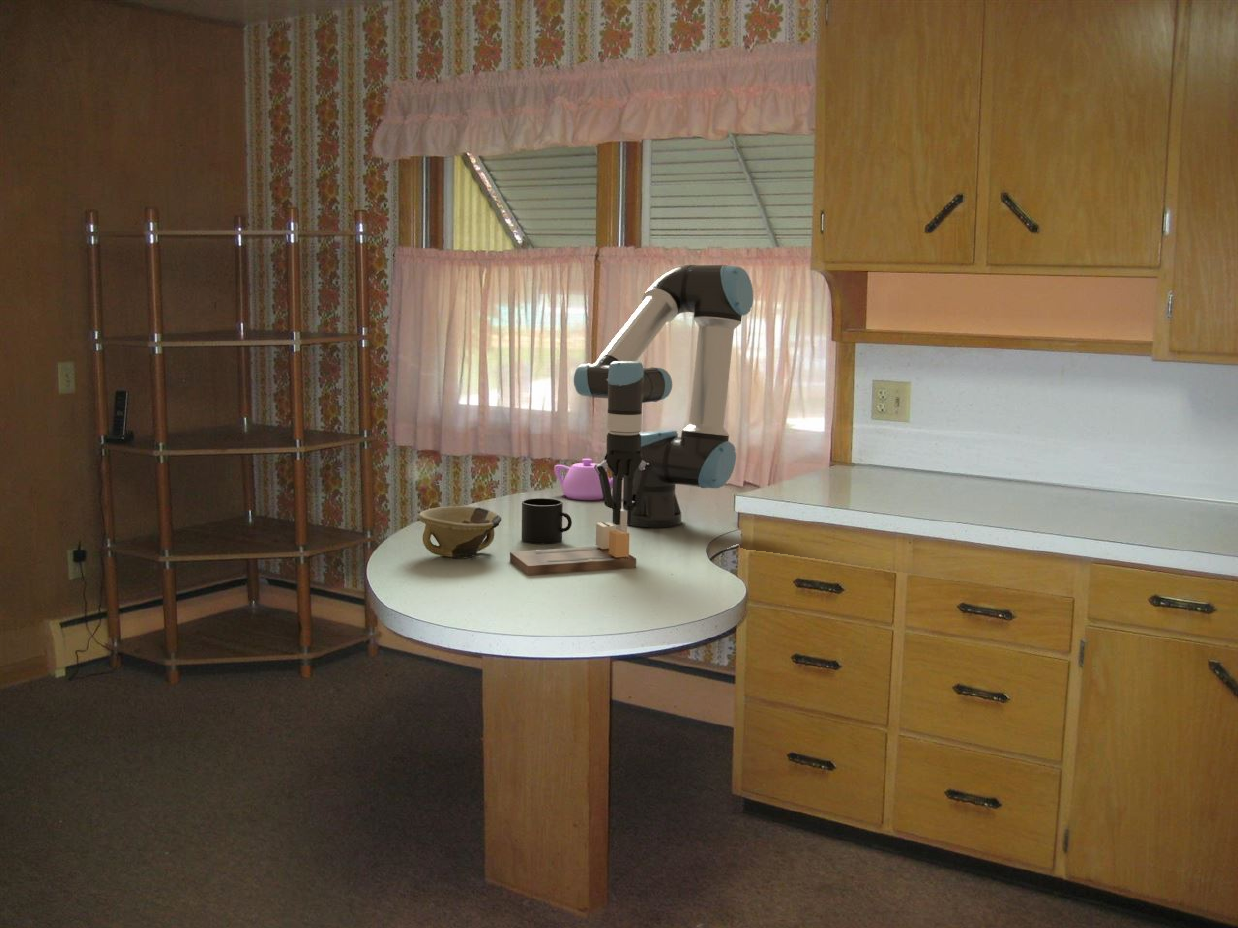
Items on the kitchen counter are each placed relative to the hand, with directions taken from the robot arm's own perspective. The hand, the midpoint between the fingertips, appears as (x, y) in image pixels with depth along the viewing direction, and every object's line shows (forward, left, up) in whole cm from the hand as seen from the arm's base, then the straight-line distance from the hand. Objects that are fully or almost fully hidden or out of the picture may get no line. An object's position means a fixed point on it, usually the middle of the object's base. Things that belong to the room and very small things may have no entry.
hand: (621, 538), depth 266 cm
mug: (+11, -20, -4) cm, 23 cm away
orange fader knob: (+4, +8, -2) cm, 9 cm away
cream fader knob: (+4, 0, -2) cm, 4 cm away
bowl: (+34, -11, -4) cm, 36 cm away
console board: (+13, +4, -4) cm, 14 cm away
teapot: (-18, -70, -4) cm, 72 cm away
